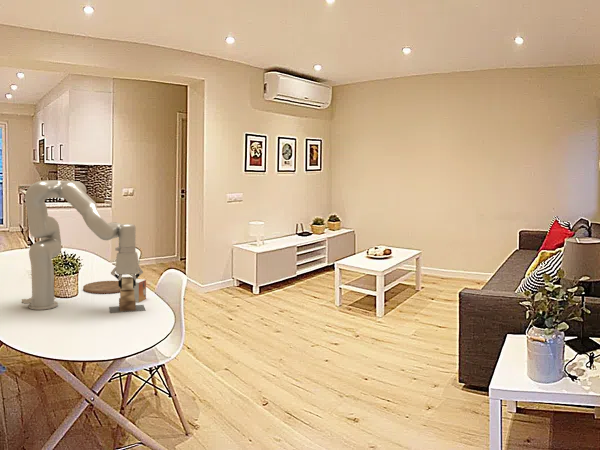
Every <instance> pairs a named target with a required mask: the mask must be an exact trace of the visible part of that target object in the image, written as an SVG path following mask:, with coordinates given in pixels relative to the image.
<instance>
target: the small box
mask: <svg viewBox="0 0 600 450" xmlns="http://www.w3.org/2000/svg"><path fill="white" fill-rule="evenodd" d="M133 289H134V298H135V301H136V303H140V302H143V301H144V300H146V299H147V279H144V278H137V279H136V286H134V288H133Z"/></svg>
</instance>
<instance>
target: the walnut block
mask: <svg viewBox="0 0 600 450" xmlns="http://www.w3.org/2000/svg"><path fill="white" fill-rule="evenodd" d="M136 305H137V302H136V301H135V298H134V301H122V302H121V299H120V297H119V298H118V306H119V309H120V311H131V310H136Z"/></svg>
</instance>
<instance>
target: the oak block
mask: <svg viewBox="0 0 600 450" xmlns="http://www.w3.org/2000/svg"><path fill="white" fill-rule="evenodd" d="M119 296H120V297H119V298H120V299H121V302H122V301H134V289H129V290H122V289H120V293H119Z"/></svg>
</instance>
